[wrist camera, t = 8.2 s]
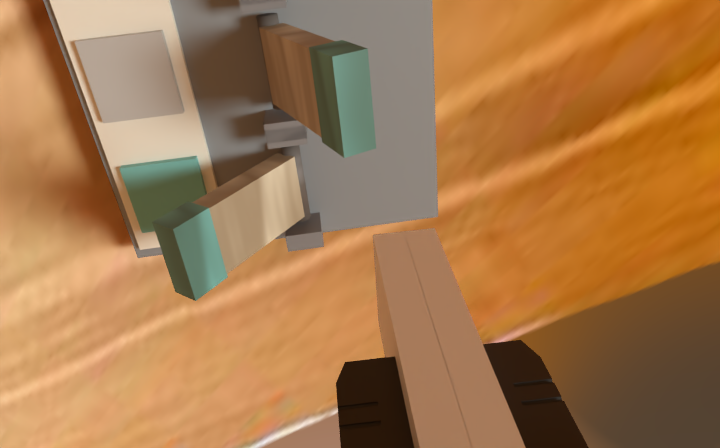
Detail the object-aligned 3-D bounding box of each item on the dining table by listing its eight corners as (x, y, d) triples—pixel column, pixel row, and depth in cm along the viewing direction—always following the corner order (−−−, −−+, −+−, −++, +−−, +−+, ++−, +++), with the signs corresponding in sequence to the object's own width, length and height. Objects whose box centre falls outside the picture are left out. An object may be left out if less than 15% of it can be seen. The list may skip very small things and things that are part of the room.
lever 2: (266, 107, 28) (345, 165, 21) (249, 16, 26) (330, 47, 19) (291, 100, 28) (377, 155, 21) (277, 11, 26) (366, 39, 19)
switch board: (145, 240, 34) (128, 279, 31) (0, -174, 23) (-54, -188, 20) (430, 201, 35) (446, 235, 31) (416, -217, 24) (438, -238, 21)
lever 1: (298, 210, 32) (177, 297, 26) (285, 139, 30) (149, 216, 23) (317, 215, 31) (197, 306, 25) (305, 143, 29) (170, 223, 23)
